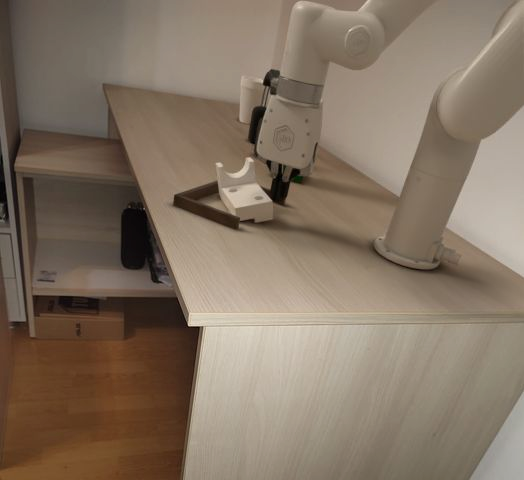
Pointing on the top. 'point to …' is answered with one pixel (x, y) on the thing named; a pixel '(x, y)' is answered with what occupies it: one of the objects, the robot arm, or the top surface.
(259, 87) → the foam cup
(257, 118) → the headphones
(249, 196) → the bracket
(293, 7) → the robot arm
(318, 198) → the top surface
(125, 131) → the top surface
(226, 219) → the bay
